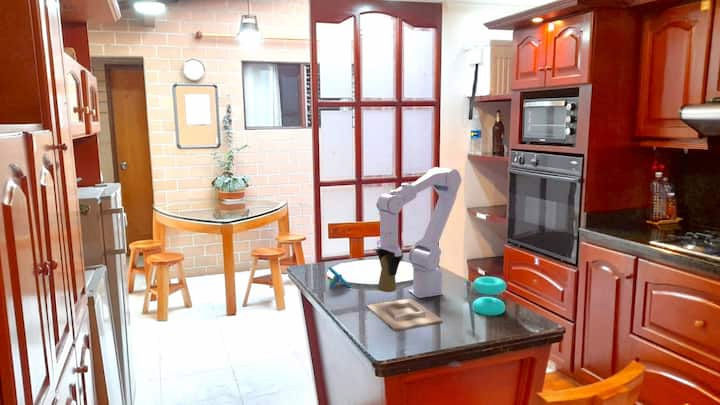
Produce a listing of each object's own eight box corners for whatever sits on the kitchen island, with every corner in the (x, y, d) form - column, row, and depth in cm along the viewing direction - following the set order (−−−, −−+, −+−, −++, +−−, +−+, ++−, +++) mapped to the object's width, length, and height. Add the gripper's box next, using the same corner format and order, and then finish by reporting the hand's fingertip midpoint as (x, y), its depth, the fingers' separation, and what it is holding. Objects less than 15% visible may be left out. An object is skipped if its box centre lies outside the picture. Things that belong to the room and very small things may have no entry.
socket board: (410, 299, 173) (411, 294, 173) (442, 321, 155) (442, 316, 155) (366, 306, 167) (366, 301, 167) (394, 330, 149) (394, 324, 149)
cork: (390, 293, 166) (392, 260, 164) (374, 289, 169) (376, 256, 167) (399, 288, 171) (401, 256, 169) (383, 284, 174) (385, 252, 172)
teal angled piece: (353, 286, 181) (332, 267, 180) (341, 299, 181) (320, 280, 180) (349, 281, 192) (329, 263, 191) (338, 293, 192) (318, 275, 191)
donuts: (490, 287, 155) (466, 278, 163) (488, 319, 157) (465, 309, 165) (513, 282, 160) (489, 273, 169) (512, 312, 162) (488, 303, 170)
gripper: (368, 228, 172) (368, 267, 174) (387, 237, 158) (386, 280, 161) (388, 226, 174) (388, 265, 176) (407, 235, 161) (407, 277, 163)
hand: (388, 272), depth 169 cm, fingers closed on cork, 5 cm apart
